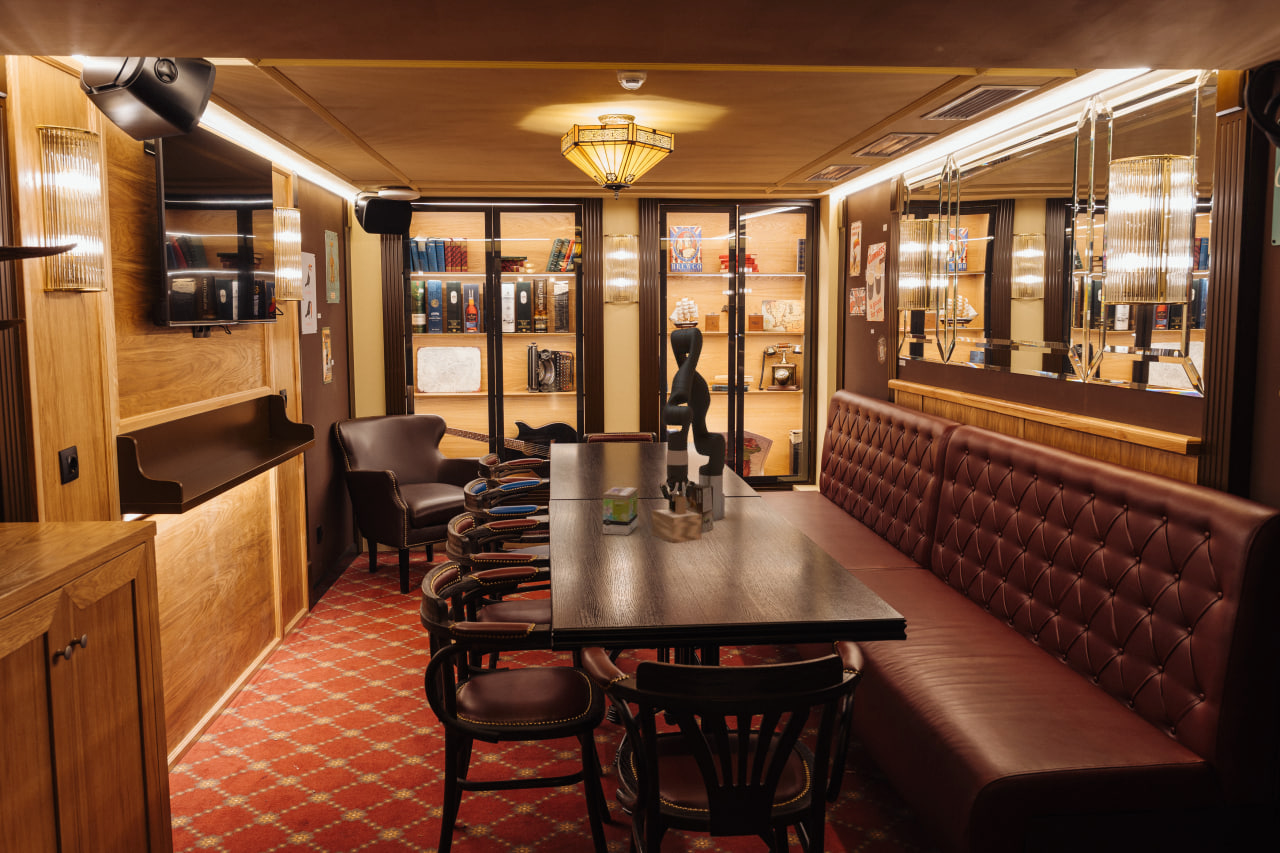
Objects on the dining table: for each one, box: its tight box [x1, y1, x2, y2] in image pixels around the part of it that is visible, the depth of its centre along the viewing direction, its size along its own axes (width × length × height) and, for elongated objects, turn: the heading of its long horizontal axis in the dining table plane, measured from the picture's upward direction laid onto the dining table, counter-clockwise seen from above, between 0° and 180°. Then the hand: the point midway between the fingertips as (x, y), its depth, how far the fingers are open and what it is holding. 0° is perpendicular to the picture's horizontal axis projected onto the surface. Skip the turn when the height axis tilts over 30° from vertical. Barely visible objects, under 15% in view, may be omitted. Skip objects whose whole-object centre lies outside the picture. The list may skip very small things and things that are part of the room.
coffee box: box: [685, 482, 714, 533], centre depth 323 cm, size 9×6×16 cm
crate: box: [651, 508, 703, 544], centre depth 312 cm, size 12×14×9 cm
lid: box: [656, 493, 699, 518], centre depth 311 cm, size 10×12×7 cm
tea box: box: [602, 486, 639, 536], centre depth 321 cm, size 15×10×15 cm, turn 168°
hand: (677, 510), depth 311 cm, fingers closed on lid, 3 cm apart
